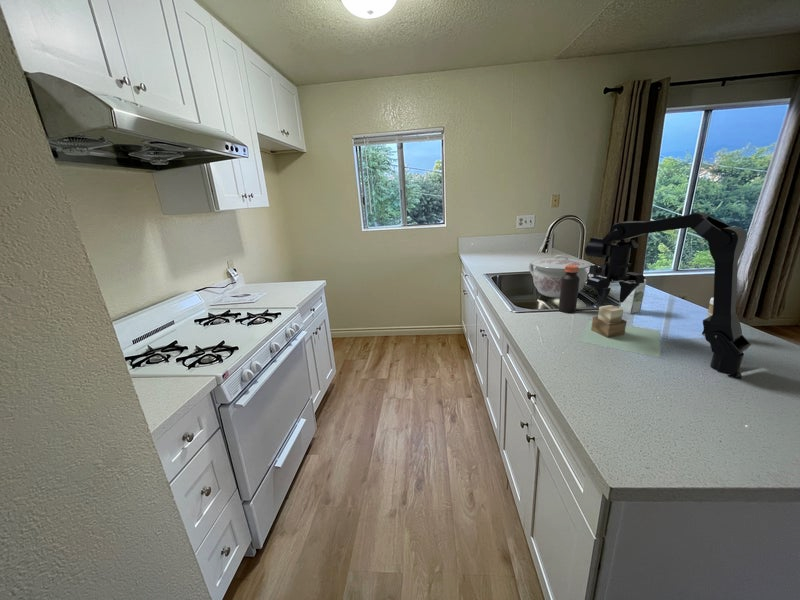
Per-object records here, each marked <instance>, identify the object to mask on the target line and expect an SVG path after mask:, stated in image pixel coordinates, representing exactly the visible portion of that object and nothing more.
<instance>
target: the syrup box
mask: <svg viewBox="0 0 800 600" xmlns="http://www.w3.org/2000/svg"><path fill="white" fill-rule="evenodd" d="M646 285H647V279H646V278H645V279H644V283H639V286H637V287H636V288H635V289H634V290H633V291H632V292H631V293H630V295H629V296H628V297H627V298H626V299H625V301H624V302H620V300H619V303H618V306H617V307H618V308H621V309H623V313H625V314H629V315H632V314H636V313H640V312H641V310H642V309H641V308H642V303H643V300H644V295H645V290H646Z"/></svg>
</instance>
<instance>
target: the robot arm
mask: <svg viewBox="0 0 800 600" xmlns="http://www.w3.org/2000/svg"><path fill="white" fill-rule="evenodd" d="M688 228H690V229H691V230H693V231H694V232H695V233H696V234H697V235H698V236H699V237H701V238H702V239H704V240H705V241H707V244H708V249H709V254H710V255H711V258H712V260H713V263H714V277H713V279H714V280H713V297H714V301H713V314H712V316H710V317H708V318H706V317H705V319H703V320H702V326H703V331H702V332H701V334H702V335H703V334H705V336H704V339H705V340H706V341H707V342H708V343H709V346H710V349H711V352H712V353H713V354H712V357H711V360H710V361H711V362H710V364H709V367H710V368H711V369H712V370H714V371H716V372H717V373H719V374H726V377H731V378H736V379H741V380H742V379H743V376H742V373H741V372H740V369H741V366H742V362H743V358H744V355H745V353H744V351H747V350H748V349H749V348H750V347H751V346H752V343H751V342H750V341H749V340H748V339H747V338H746V337H745V336H744V335H743V330H742V325H741V321H740V319H739V317H738V315H737V312H736V307H737V288H738V287H737V286H738V271H739V270H738V269H739V268H738V266H739V265H738V264H739V260H740V257H741V256H742V253H743V251H744V248H745V246H746V242H747V239H748V233H747V231H746V230H745V229H743V228H742V227H739V226H731V225H730V224H728V223H726V222H723V221H721V220H719V219H717V218H714V217H712V216H711V215H709V214H707V213H706V212H703V211H698V212H692V213H689V214H685V215H680V216H675V217H674V216H672V217H667V218H661V219H655V220H649V221H643V220H641V221H640V220H638V221H637V220H630V221H629V220H628V221H621V222H617V223H614V224H613V225H612V226H611V228H610V229H609V232H608V233H607V234H606V235H605V236H603V238H601V237H597V236H596V237H595V236H593V237H590V238H589V242H588V243H587V244H586V246H585V248H584V253H585V255H586V256H587V257H592V258H600V259H606V258H607V257H608V261H605V262H604V264H603V266H599V265H598V264H592V266H590V267H589V270H588V272H589V274H590V275H592V276H589V277H587V279H586V283H585V284H586V286H589V287H590V288H593V289H594V290H595V291H596V294H597V296H598V300H599V304H600V305H601V306H605V303H607V302H606V301H607V299H608V297H609V295H610V293H611V291H612V288H611V287H610V286H611V284H615V283H618V284H619V286H620V289H619V290H620V291H619V301H620V302H624V301H625V299H626V298H627V297H628V296H629V295H630V293H631V292H632V291H633V290H634V289H635V288H636V287H637V286H639V283H644V279H645V280H646V278H645V276H644V274H643V273H638V272H634V271H633V272H632V271H628V270H629V268H631V267H632V265H633V264H632V263H630V262H629V261H630V257H631V251H632V250H631V249H635V248H640V244H638V242H636V240H635V239H632V238H637V237H640V236H643V235H646V234H651V233H659V232H665V231H674V230H681V229H688ZM628 239H629V241H624V240H628ZM630 239H631V240H630ZM614 242H617V243H614Z"/></svg>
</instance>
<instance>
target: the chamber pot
mask: <svg viewBox="0 0 800 600" xmlns="http://www.w3.org/2000/svg"><path fill="white" fill-rule="evenodd" d="M567 265H575V266H578V273H577V276H578V277H579V278H580V280H579V288H578V294H579V293H580V292H581V291H582V290H583V288H584V287H585V284H586V283H587V279H588V272H587V270H586V269H588V268H590V266H592V265H593V263H592V262H591V261H588V260H585V259H581V258H576V257H570V256H569V257H567V256H566V255H565V254H556V255H554V256H549V257H548V256H547V257H541V258H533V259H532V260H531V261H530V262H529V265H528V269H529V272H530V275H531V276H532V280H533V285H534V286H535V288H536V289H537V292H538V293H539V294H540V295H542V296H545V297H548V298H550V299H551V298H552V299H560V291H561V281H562V277H563V276H564V275H565V274H566V273H565V266H567Z"/></svg>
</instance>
